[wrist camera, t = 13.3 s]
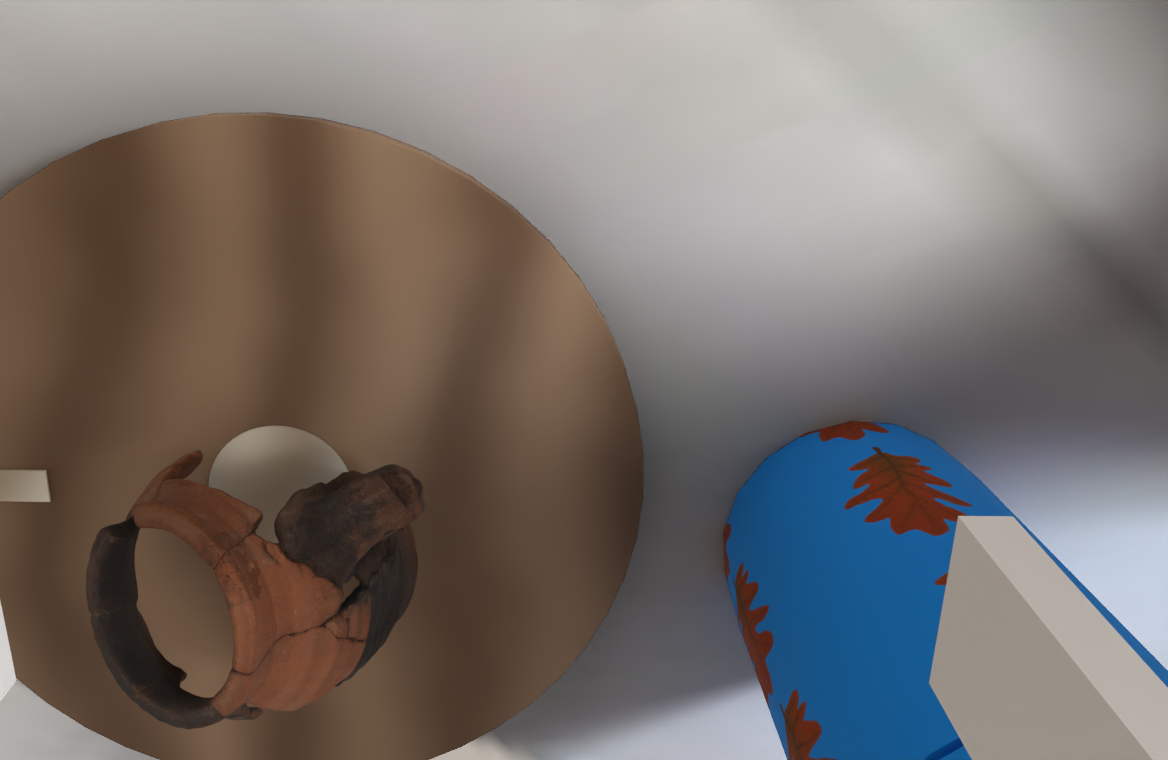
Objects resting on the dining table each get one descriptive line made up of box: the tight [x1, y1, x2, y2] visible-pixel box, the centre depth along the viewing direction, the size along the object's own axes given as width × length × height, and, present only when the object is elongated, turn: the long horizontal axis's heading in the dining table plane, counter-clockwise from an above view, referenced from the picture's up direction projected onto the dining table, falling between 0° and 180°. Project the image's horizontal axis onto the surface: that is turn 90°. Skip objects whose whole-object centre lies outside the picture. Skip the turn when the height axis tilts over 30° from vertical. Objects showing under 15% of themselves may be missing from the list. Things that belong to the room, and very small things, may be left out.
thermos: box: [724, 421, 1168, 760], centre depth 30 cm, size 11×11×25 cm
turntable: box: [0, 113, 643, 760], centre depth 37 cm, size 26×26×1 cm
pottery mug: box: [86, 450, 425, 730], centre depth 34 cm, size 12×10×8 cm
